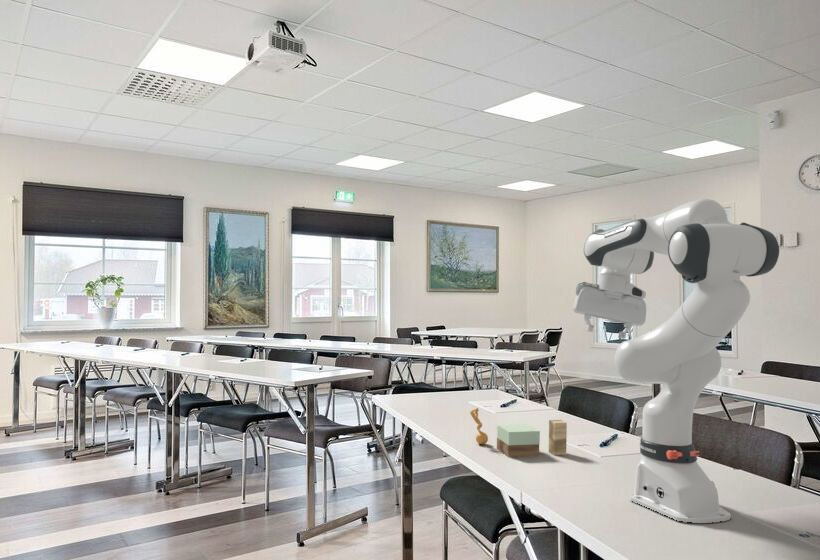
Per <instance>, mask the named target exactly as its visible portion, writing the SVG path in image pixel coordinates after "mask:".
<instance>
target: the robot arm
mask: <svg viewBox="0 0 820 560" xmlns="http://www.w3.org/2000/svg"><path fill="white" fill-rule="evenodd" d="M656 253H657V254H661V255H666V256H668V259H669V261H670V263H671V265H672V266H673V268H674V269H675V270H676V272H677V273H679V274H680V275H681V278H682V279H683V280H684V281H686V283H689V284H694V288H693V290H692V292H690V294H688V296H687V297H686V299H685V300H684V301H683V302H682V304H681V305H680V306H679V307H678V308H677V309H676V310H675V311H674V313H673V314H672V315H671V316H670V317H669V318H668V319H666V320H665V321H664V322H663V323H661V324H659V325H658V326H656V327H654V328H653V329H651V330H649V331H648V332H645V333H644V334H642V335H639V336H637V337H634V338H631V339H628V340H625V339H626V337H627V333H628V332H629V331H630V329H632V326H635V327H640V326H643V325H644V324H645V323H646V319H647V304H646V303H647V302H646V301H645V300H644V299H645V298H646V297H647V296H646V295H647V293H646V291H645V290H644V289H641V288H639V287H638V286H636V285H635V284H633V283H631V275H632V274H633V275H641V274H644V273H645V272H647V271H649V270H650V269H651V267H652V266H653V263H654V260H655V259H654V258H655V254H656ZM583 254H584V256H585V258H586V260H587V262H588V263H589V264H590V266H597V267H601V268H600V271H599V273H598V277H597V278H598V279H597V284H596V283H590V282H587V281H582V282H580V283H578V284H577V286H576V288H575V294H576V296H575V299H574V303H573V305H572V310H573V312H574V313H576V314H579V315H584V316H583V320H584V322H585V325H586V329H585V331H586V332H590V333H593V332H594V327H595V325H592V323H591V321H590V320H591V319H592V317H593V318H598V319H601V320H602V319H603V320H608V321H611V322H616V323H617V322H618V323H621V324H623V327H624V329H623V330H622V331H619V332H618V336H617V338H618V339H620V340H621V339H622V340H625V341H622V342H621V343H620V344H619V345H618V346H617V348H616V350H615V353H614V359H613V360H614V367H615V369H616V372H617V373H618V374H619V376H620V377H621V378H622V379H624V380H626V381H629V382H634V383H639V384H645V385H646V384H647V385H648V384H649V385H651V384H652V385H653V384H654V385H656V384H657V385H658V384H660V385H661V384H662V387H661V390H660V392H659V393H658V394H657V395H656V396H655V397H653V398H652V399H650V400H649V401H647V402H646V403H645V404H644V406H643V408H642V420H641V421H642V425H641V426H642V427H641V428H642V433H641V434H642V436H641V438H640V443H639V452H640V454H641V457H640V460H639V462H638V464H637V465H636V471H635V481H634V489H633V490H634V492H633V494H631V495H630V498H629V501H630V502H632V501H633V502H632V503H635V504H637V503H638V504H637V505H639V504H640V505H639V506H641V505H642V507H644V506H645V507H644V508H646V507H647V508H646V509H648V508H650V509H649V510H651V509H652V510H651V511H653V510H654V511H653V512H655V511H657V512H659V513H658V514H660V513H661V514H660V515H662V514H663V515H662V516H664V515H666V516H668V517H667V518H669V517H670V518H669V519H671V518H673V519H674V520H673V519H672V520H673V521H676V520H677V521H676V522H679V521H683V522H682V523H687V522H692V523H691V524H709V523H710V524H711V523H712V522H713V523H721V522H720V521H722V522H726V521H729V520H730V518H731V519H732V514H731V513H730V512H729V511H728V510H726V509H724V508H723V507H722V506H720V504H719V492H718V489H717V487H716V484H715V482H714V481H713V480H711V479H710V478H709V477H708V475H707V474H706V473H705V471H704V469H702V467H701V466H700V465H699V463H698V457H699V456H700V454H699V453H700V451H699V450H696V448H695V445H694V443H693V437H692V435H693V418H694V410H695V407H696V404H697V401H698V399H699V398H700V395H701V393H702V392H703V390H704V389H705V388H706V387H707V386H708V384H710V383H711V382H712V381H713V380H715V379H716V378H717V377H718V375H719V374H720V371H721V367H722V356H721V355H720V352H719V350H718V349H717V346H718V344H720V343H721V342H722V341H723V340H724V338H726V337H727V335H728V334H730V332H731V331H733V329H734V328H735V327H736V325H737V324H738V323H739V322H740V320H741V319H742V317H743V315H744V314H745V312H746V310H747V309H748V307H749V306H750V305H749V304H750V301H751V294H750V291H749V289H748V287H747V285H746V284H745V283H744V281H742V280H741V277H743V276H744V277H749V278H750V277H758V276H761V275H765V274H768V273H770V272H771V271H772V270H773V269H774V268H775V266H776V265H777V262H778V260H779V256H780V246H779V242H778V239H777V238H776V236H775V235H774V233H772V232H771V231H769V230H767V229H764V228H761V227H759V226H756V225H753V224H750V223H746V222H741V223H740V224H734V223H731V222H730V221H729V219H728V215H727V211H726V210H725V208H724V207H723V206H722V204H720V203H718V202H717V201H716V200H714V199H710V198H700V199H696V200H691V201H689V202H685V203H683V204H681V205H679V206H676V207H674V208H673V209H670V210H668V211H665V212H663V213H660V214H656V215H653V216H648V217H644V218H639V219H634V220H630V221H628V222H623V223H622V224H620V225H617V226H614V227H611V228H608V229H606V230H604V229H602V228H601V229H597V230H594V231H593V232H591V234H589V235H588V237H587V238H586V240H585V242H584V246H583ZM657 512H656V513H657ZM666 516H665V517H666Z"/></svg>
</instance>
